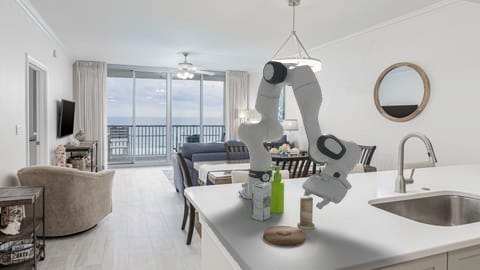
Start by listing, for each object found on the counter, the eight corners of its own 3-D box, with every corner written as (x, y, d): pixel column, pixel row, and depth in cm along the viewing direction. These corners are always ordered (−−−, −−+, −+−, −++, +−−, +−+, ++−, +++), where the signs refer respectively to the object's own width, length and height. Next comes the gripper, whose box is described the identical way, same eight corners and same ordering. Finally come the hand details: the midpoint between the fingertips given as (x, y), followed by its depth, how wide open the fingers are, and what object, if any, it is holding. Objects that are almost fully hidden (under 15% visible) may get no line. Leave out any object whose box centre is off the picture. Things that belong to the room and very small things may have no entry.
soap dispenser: (265, 210, 133) (266, 165, 132) (279, 208, 136) (280, 164, 135) (271, 214, 128) (272, 167, 127) (286, 212, 130) (286, 166, 129)
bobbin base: (256, 232, 108) (256, 228, 108) (290, 227, 113) (290, 223, 113) (275, 248, 95) (275, 244, 95) (313, 242, 100) (313, 237, 100)
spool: (294, 224, 116) (294, 196, 115) (308, 222, 118) (308, 194, 118) (303, 230, 110) (304, 200, 109) (318, 228, 112) (318, 199, 112)
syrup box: (259, 215, 127) (259, 181, 126) (271, 218, 123) (271, 183, 122) (251, 218, 122) (251, 183, 121) (263, 222, 119) (263, 185, 118)
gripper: (311, 167, 126) (290, 192, 123) (345, 176, 107) (322, 206, 104) (320, 177, 128) (300, 202, 125) (355, 187, 109) (332, 217, 106)
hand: (310, 204), depth 114 cm, fingers open, 8 cm apart
